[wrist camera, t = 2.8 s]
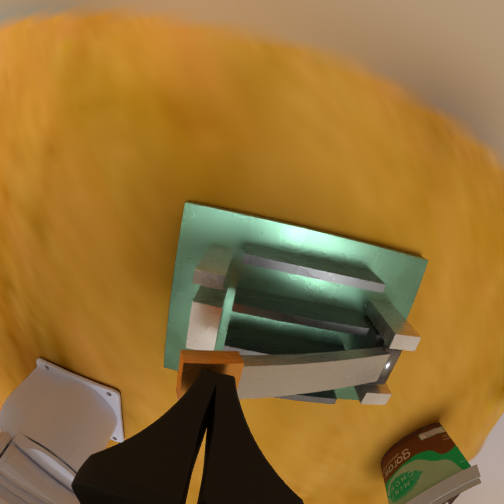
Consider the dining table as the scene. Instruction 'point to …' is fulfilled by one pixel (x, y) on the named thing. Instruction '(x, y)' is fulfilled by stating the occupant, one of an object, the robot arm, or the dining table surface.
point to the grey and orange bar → (289, 370)
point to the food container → (427, 469)
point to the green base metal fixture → (287, 293)
